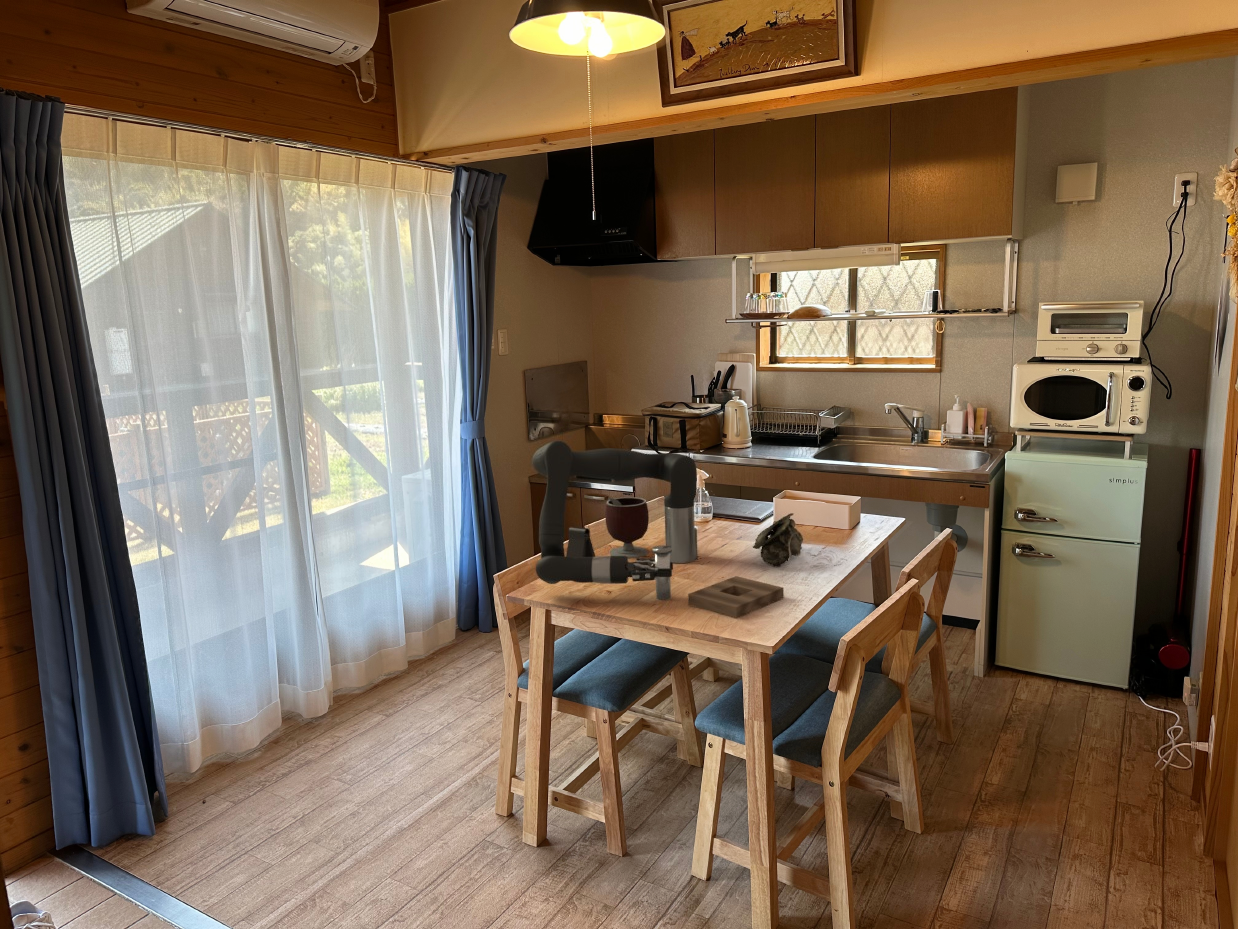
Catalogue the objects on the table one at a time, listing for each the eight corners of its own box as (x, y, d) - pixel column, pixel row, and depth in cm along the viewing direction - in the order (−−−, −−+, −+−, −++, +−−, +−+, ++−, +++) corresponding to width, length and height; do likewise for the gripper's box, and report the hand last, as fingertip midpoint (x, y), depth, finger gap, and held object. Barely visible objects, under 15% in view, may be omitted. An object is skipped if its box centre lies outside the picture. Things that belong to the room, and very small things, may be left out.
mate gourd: (625, 545, 287) (622, 486, 284) (658, 551, 279) (656, 490, 275) (594, 556, 276) (592, 495, 272) (628, 562, 267) (626, 500, 263)
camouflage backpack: (772, 587, 253) (807, 554, 247) (741, 556, 255) (775, 522, 249) (790, 558, 278) (822, 527, 272) (761, 530, 280) (793, 499, 274)
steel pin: (663, 593, 237) (661, 544, 234) (677, 597, 233) (675, 547, 230) (650, 598, 233) (648, 548, 231) (664, 602, 229) (662, 551, 227)
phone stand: (580, 570, 261) (578, 532, 259) (564, 568, 264) (562, 530, 262) (597, 562, 269) (595, 525, 266) (581, 560, 272) (579, 523, 270)
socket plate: (736, 586, 240) (736, 576, 239) (783, 598, 229) (783, 587, 228) (688, 604, 226) (688, 594, 226) (736, 618, 215) (736, 607, 215)
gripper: (606, 564, 226) (670, 563, 224) (612, 549, 240) (673, 548, 238) (607, 591, 227) (671, 591, 225) (613, 574, 241) (674, 574, 239)
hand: (672, 569), depth 231 cm, fingers open, 5 cm apart
